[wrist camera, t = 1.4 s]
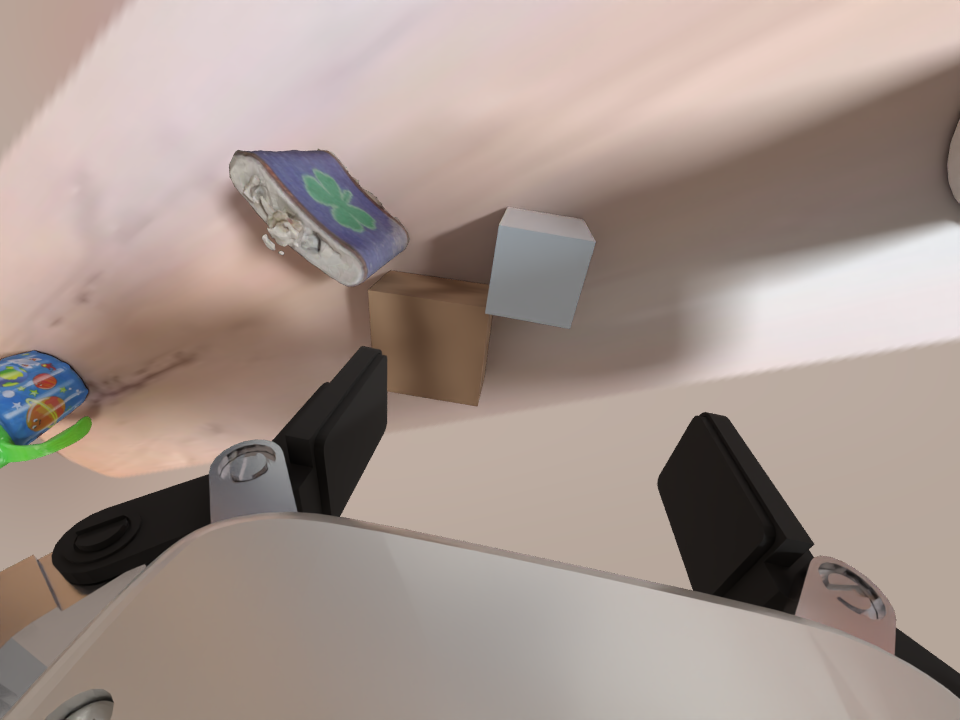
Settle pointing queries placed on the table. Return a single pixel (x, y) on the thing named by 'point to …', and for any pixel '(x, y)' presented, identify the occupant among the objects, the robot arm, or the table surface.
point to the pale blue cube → (539, 267)
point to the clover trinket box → (319, 211)
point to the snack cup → (37, 405)
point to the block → (431, 335)
